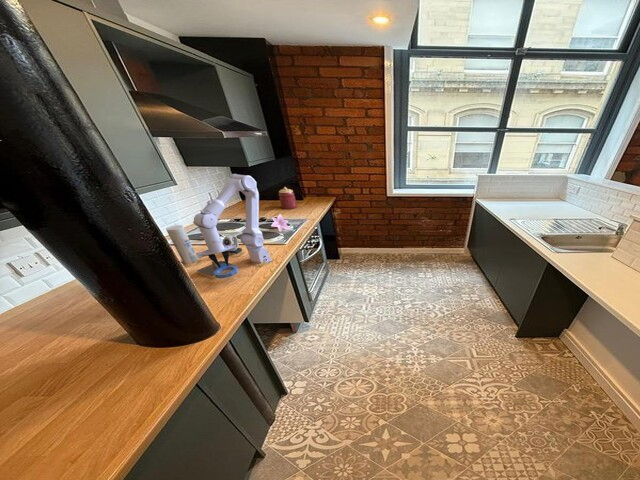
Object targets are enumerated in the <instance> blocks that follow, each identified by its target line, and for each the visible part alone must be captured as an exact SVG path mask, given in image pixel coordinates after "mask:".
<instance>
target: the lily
mask: <svg viewBox="0 0 640 480" xmlns="http://www.w3.org/2000/svg"><path fill="white" fill-rule="evenodd" d="M271 219H272V220H273V222H272V223H271V225H270V226H271V227H273V228H277V229H278V231H279V232H280V233H281V232H282V231H283V229H286V230H290V227H289V225H288V223H289V220H286V219H284V217H283V215H282V214H281V213H279V215H277V218H276V217H271Z"/></svg>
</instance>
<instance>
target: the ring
mask: <svg viewBox="0 0 640 480" xmlns="http://www.w3.org/2000/svg"><path fill="white" fill-rule="evenodd" d="M221 261H222V262H219V264H220V266H221V267H220V268H218V269H216V270H215V271H214V275H213V276H215V278H217V279H226V278H230V277H233V276H235V275H237V274H238V273H239V267H238V266H237V265H236V266H233V265H234V264H233V265H230V266H227V265H226V262H225V260H221ZM226 271H229V272H226ZM223 272H225V273H223Z"/></svg>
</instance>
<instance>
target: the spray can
mask: <svg viewBox="0 0 640 480" xmlns="http://www.w3.org/2000/svg"><path fill="white" fill-rule="evenodd" d="M165 230H166V232H167V234H168V236H169V238H170V240H171V242H172V244H173V246H174V247H175V250H176V251H177V253H178V255H179V258H180V259H181V261H182V263H183V264H184V265H189V264H190V265H191V264H194V263H197V262H199V259H200V258H199V257H198V255H197V253H196V251H195V249H194V247H193V244H192V242H191V240H190V238H189V236H188V233H187V231H186V228H185V227H184V226H183V225H181V224H178V225H172V226H168V227H166V228H165Z"/></svg>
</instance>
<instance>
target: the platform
mask: <svg viewBox="0 0 640 480" xmlns="http://www.w3.org/2000/svg"><path fill="white" fill-rule="evenodd" d="M222 261H223V260H219V261H218V262H222ZM228 265H229V266H230V265H233V266H237V265H236V264H233V263H229V262H228ZM218 268H219V267H218V266H217V264H216V263H215V262H213V261H211V264H209V265H206V266H204V267H202V268H199V269H197V270H196V272H199V273H201V274H205V275H207V276H210V277H213V276H215V275H214V271H215V270H216V269H218Z"/></svg>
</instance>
